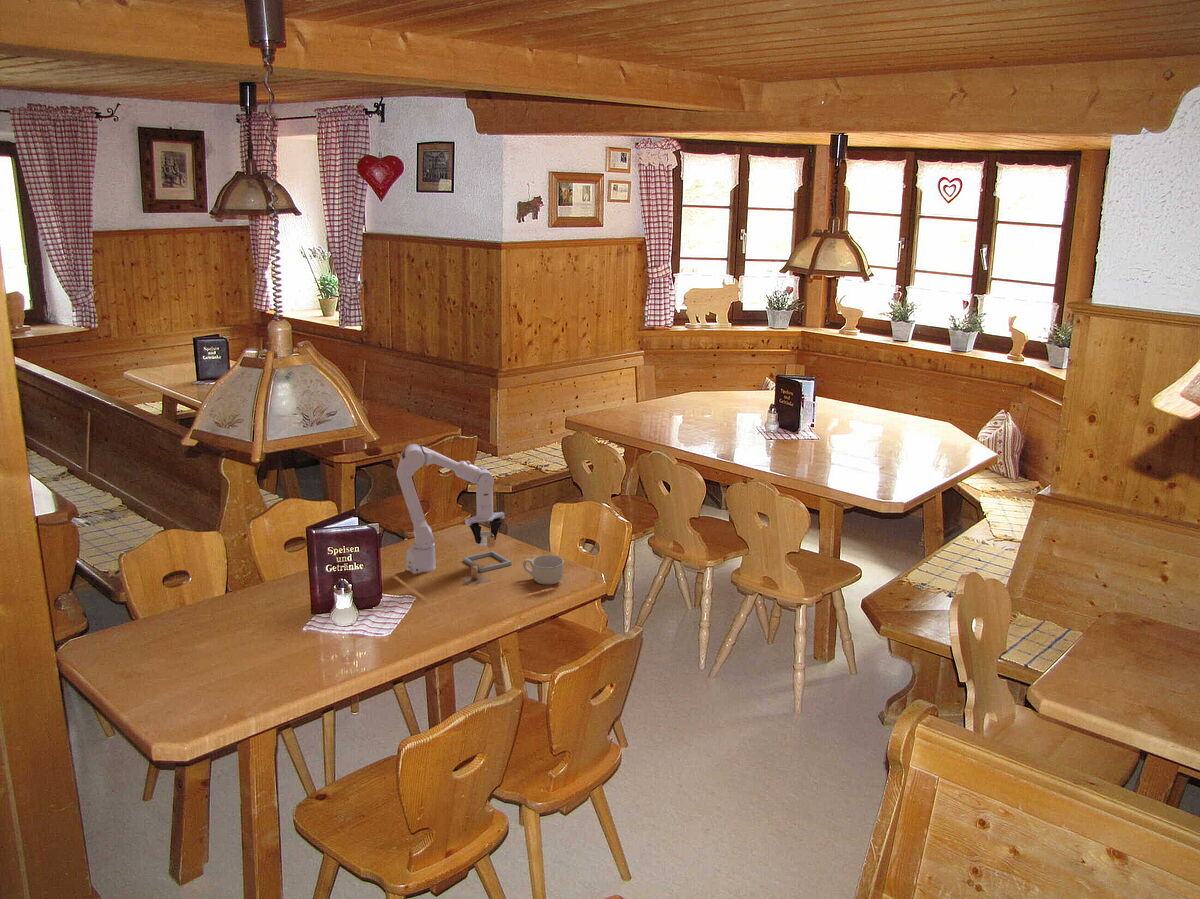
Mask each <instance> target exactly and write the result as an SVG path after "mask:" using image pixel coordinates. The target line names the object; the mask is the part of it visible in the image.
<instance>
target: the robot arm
mask: <svg viewBox="0 0 1200 899" xmlns="http://www.w3.org/2000/svg"><path fill="white" fill-rule="evenodd" d="M433 464H435V465H437V466H439V467H443V468H445V469H447V470H450V471H453V472H454V474H455V476H456V477H458V478H460V479H462V480H464V481H467V482H470V483H472V484H476V492H475V495H476V496H475V498H476V515H475V516H472V517H469V518H466V519H464V522H465V523H464V524H465V526H467V527H469V529H470V530H471V532H472V535H473V537H474V540H475V543H476V544H477V545H478V544H480V533H481V532H482V526H481V525H480V523H486V522H488V523H489V526H490V532H493V533H494V537H495V541H496V540H497V537H498V536H497V535H498V533H499V530H500V527H501V525H502V524H503V520H504V519H505V517H506V516H505V512H504V511H500V512H498V511H497V512H494V491H493V487H494V485H495V480H494V479H495V478H494V477H493V475H492V473H491V471H489V470H488V469H487V468H486V467H482V466H476V465H474V464H472V463H471V461H470V460H466V461H465V460H461V461H456V460H454V459H452V458H450V457H447V456H445V455H443V454H441V453H440V452H438V451H435V450H433V449H430V448H428V447H426V446H420V445H419V444H417V443H409V444H407V446H406V447H405V448H404V449H403V451H401V454H400V459H399V462H398V465H397V469H396V478H397V480H398V484H399V487H400V489H401V492H402V495H403V498H404V502H405V504H406V507H407V510H408V513H409V516H410V519H411V523H412V525H413V526H412V527H413V530H412V533H413V537H414V539H415V540H414V543H413V544H412V545H413V546H411V547H409V548H407V549H406V552H405V559H406V560H405V561H406V568H405V570H406V571H408V572H409V573H412V574H413V575H415V574H420V573H427V572H431V571H434V570H436V566H437V565H436V548H435V546H436V543H435V536H434V534H433V530H432V527H431V526H430V525H429V524H428V523H427V520H426V517H425V514H424V512H423V509H422V508H423V507H422V506H421V502H420V499H419V495H418V493H417V491H416V487H415V484H414V481H413V479H412V478H413V476H414V475H415V473H416V472H417V470H419V469H420V468H422V467H423V466H424V465H425V466H426V467H427V466H430V465H433ZM501 519H502V520H501Z"/></svg>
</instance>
